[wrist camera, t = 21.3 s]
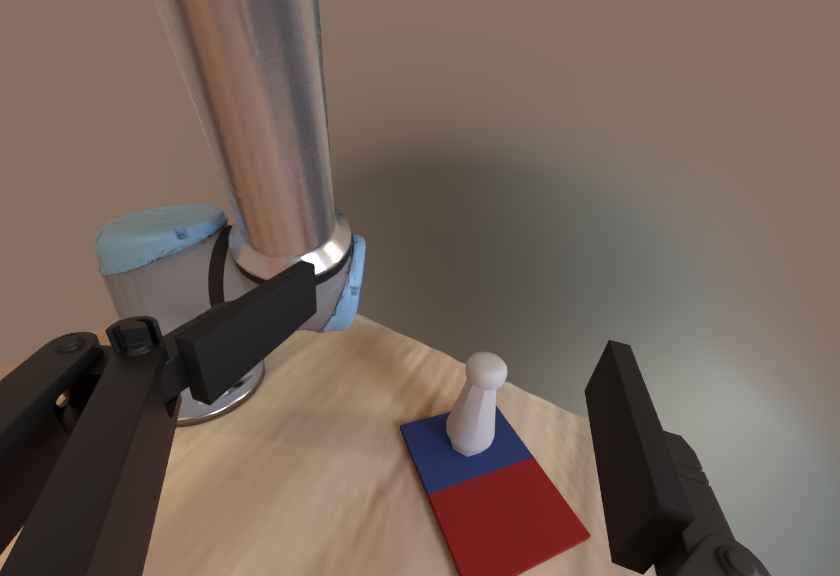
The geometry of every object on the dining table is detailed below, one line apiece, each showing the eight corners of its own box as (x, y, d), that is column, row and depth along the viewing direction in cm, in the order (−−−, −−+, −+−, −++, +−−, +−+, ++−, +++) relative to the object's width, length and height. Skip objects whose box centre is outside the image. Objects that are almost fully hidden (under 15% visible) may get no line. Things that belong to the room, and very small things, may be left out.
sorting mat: (399, 428, 43) (400, 425, 43) (491, 403, 48) (492, 400, 48) (469, 600, 29) (470, 597, 29) (588, 538, 34) (591, 535, 34)
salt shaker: (469, 415, 45) (490, 337, 39) (499, 449, 41) (528, 369, 35) (433, 433, 42) (450, 352, 36) (463, 471, 38) (487, 388, 32)
